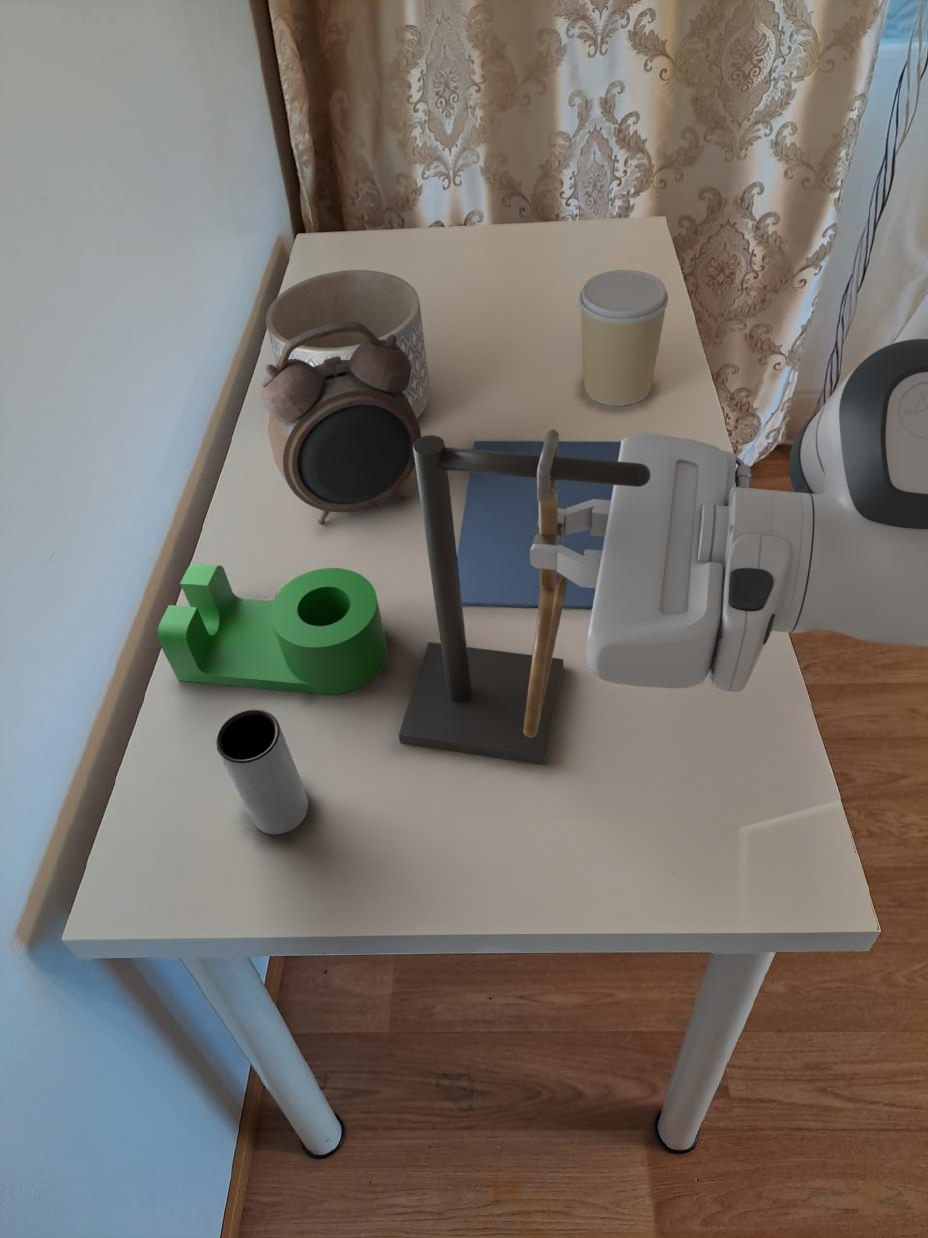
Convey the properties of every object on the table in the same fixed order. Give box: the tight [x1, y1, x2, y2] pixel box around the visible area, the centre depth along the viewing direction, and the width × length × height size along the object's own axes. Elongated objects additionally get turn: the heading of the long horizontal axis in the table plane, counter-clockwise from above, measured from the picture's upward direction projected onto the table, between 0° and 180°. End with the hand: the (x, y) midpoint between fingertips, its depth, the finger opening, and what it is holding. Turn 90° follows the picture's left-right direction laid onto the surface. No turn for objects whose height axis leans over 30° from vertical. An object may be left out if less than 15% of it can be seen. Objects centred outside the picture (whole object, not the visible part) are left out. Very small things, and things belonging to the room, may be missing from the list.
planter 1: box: [215, 709, 309, 835], centre depth 67 cm, size 4×4×10 cm
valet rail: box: [398, 434, 650, 765], centre depth 65 cm, size 18×10×27 cm, turn 77°
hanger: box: [523, 429, 568, 737], centre depth 62 cm, size 1×17×19 cm, turn 167°
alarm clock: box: [260, 322, 422, 525], centre depth 87 cm, size 14×7×20 cm, turn 112°
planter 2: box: [265, 269, 431, 420], centre depth 101 cm, size 16×16×13 cm
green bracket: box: [157, 563, 388, 696], centre depth 79 cm, size 18×9×6 cm, turn 80°
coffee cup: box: [578, 269, 669, 407], centre depth 100 cm, size 9×9×12 cm
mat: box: [457, 440, 621, 610], centre depth 90 cm, size 22×24×1 cm
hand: (534, 536), depth 60 cm, fingers closed on hanger, 1 cm apart
